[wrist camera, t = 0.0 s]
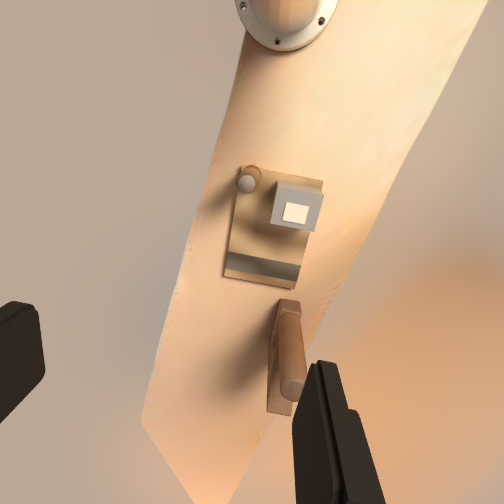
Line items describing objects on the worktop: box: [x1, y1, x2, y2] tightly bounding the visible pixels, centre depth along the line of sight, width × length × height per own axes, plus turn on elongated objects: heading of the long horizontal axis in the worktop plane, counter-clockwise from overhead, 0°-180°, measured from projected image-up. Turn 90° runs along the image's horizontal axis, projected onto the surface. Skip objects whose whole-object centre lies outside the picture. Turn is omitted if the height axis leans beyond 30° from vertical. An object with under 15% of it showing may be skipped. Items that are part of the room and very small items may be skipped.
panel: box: [224, 165, 323, 289], centre depth 46 cm, size 18×12×1 cm, turn 170°
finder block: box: [270, 180, 324, 232], centre depth 41 cm, size 5×6×6 cm
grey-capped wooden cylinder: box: [236, 165, 261, 194], centre depth 38 cm, size 3×3×9 cm
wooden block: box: [267, 299, 308, 416], centre depth 44 cm, size 4×11×18 cm, turn 170°
